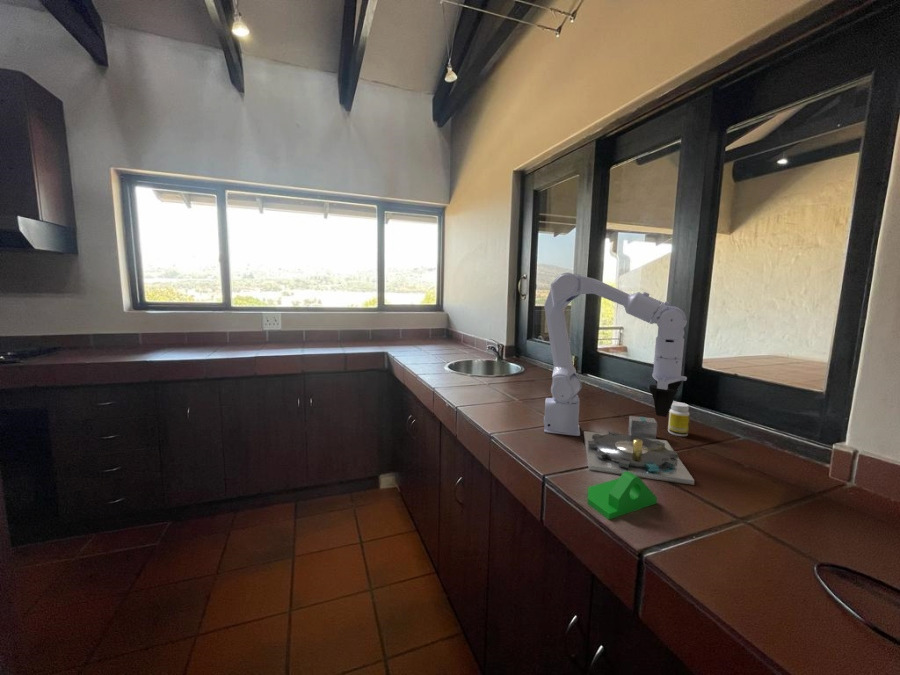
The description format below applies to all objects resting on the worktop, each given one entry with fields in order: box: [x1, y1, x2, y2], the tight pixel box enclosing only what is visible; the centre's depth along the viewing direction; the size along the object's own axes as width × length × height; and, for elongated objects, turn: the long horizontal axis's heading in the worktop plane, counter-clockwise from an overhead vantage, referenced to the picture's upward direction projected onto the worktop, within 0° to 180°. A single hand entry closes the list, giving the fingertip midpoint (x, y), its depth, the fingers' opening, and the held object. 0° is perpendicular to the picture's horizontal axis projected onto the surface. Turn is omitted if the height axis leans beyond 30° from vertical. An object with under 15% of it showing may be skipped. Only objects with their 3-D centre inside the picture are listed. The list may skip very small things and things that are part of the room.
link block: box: [627, 415, 658, 439], centre depth 94 cm, size 6×4×5 cm, turn 72°
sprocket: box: [588, 431, 679, 471], centre depth 82 cm, size 19×19×5 cm
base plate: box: [583, 431, 696, 486], centre depth 83 cm, size 20×20×1 cm
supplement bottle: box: [667, 401, 691, 437], centre depth 96 cm, size 5×5×8 cm
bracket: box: [587, 471, 658, 520], centre depth 65 cm, size 12×8×7 cm, turn 113°
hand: (663, 411), depth 85 cm, fingers open, 7 cm apart
